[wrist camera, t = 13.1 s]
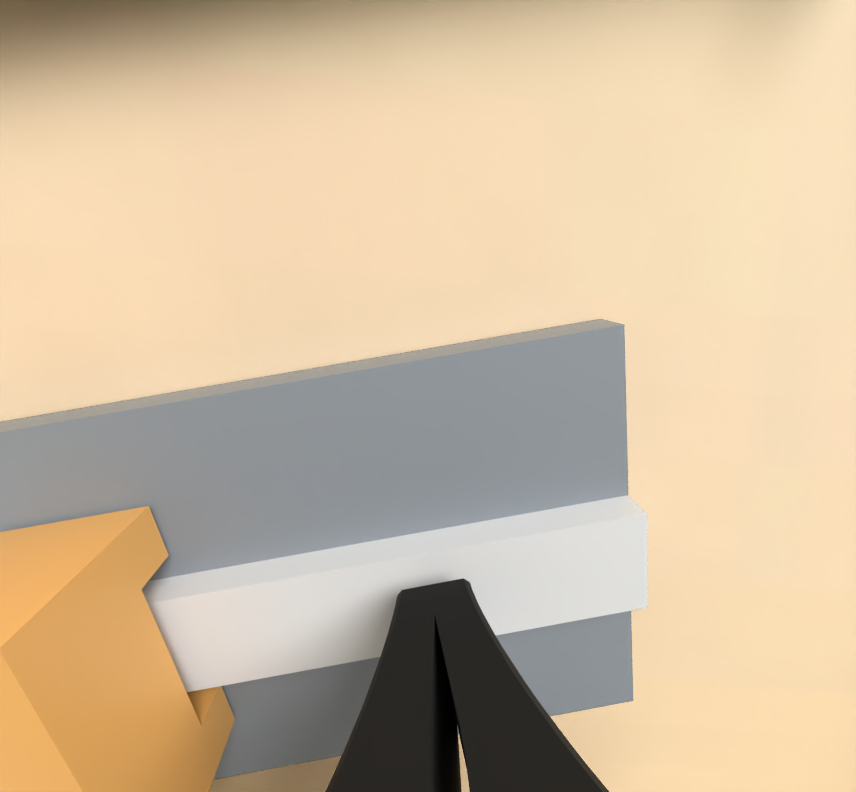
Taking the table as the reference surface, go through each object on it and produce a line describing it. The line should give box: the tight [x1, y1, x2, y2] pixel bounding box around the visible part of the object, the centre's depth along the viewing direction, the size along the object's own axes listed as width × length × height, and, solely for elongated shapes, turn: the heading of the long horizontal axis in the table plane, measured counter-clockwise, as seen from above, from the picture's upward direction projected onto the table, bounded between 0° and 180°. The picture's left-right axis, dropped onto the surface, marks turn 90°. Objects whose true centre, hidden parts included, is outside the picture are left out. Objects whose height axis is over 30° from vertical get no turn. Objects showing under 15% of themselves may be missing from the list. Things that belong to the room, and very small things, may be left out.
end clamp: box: [0, 506, 235, 792], centre depth 8 cm, size 6×3×3 cm, turn 9°
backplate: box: [0, 319, 648, 780], centre depth 9 cm, size 10×24×4 cm, turn 99°
